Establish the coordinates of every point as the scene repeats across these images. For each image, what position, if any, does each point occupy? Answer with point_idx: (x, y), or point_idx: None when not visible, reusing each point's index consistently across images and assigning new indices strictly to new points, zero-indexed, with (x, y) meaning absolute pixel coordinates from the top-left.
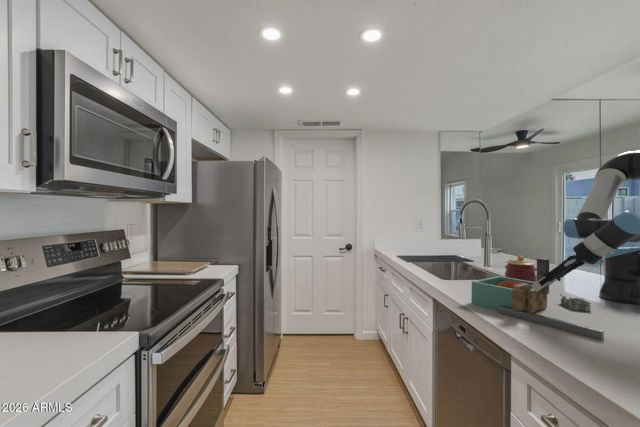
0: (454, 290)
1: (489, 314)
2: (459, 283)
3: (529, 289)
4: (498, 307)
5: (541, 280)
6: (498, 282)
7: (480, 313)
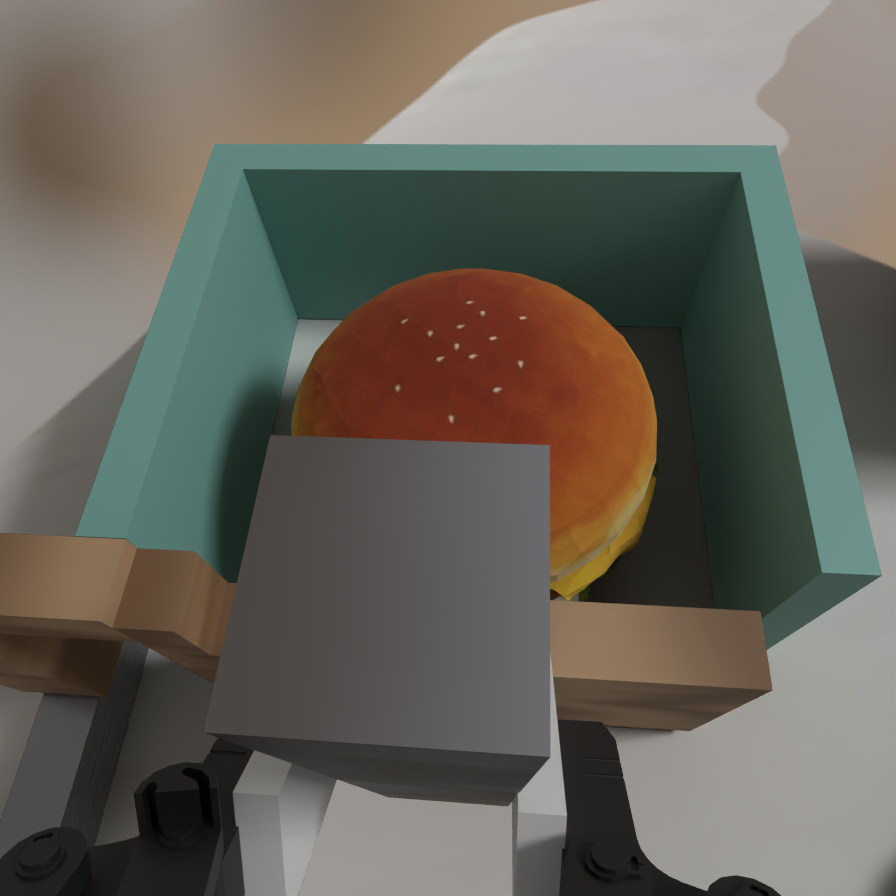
0: (541, 96)
1: (50, 489)
2: (789, 25)
3: (167, 643)
4: None
5: (214, 751)
6: (679, 218)
7: (33, 441)
